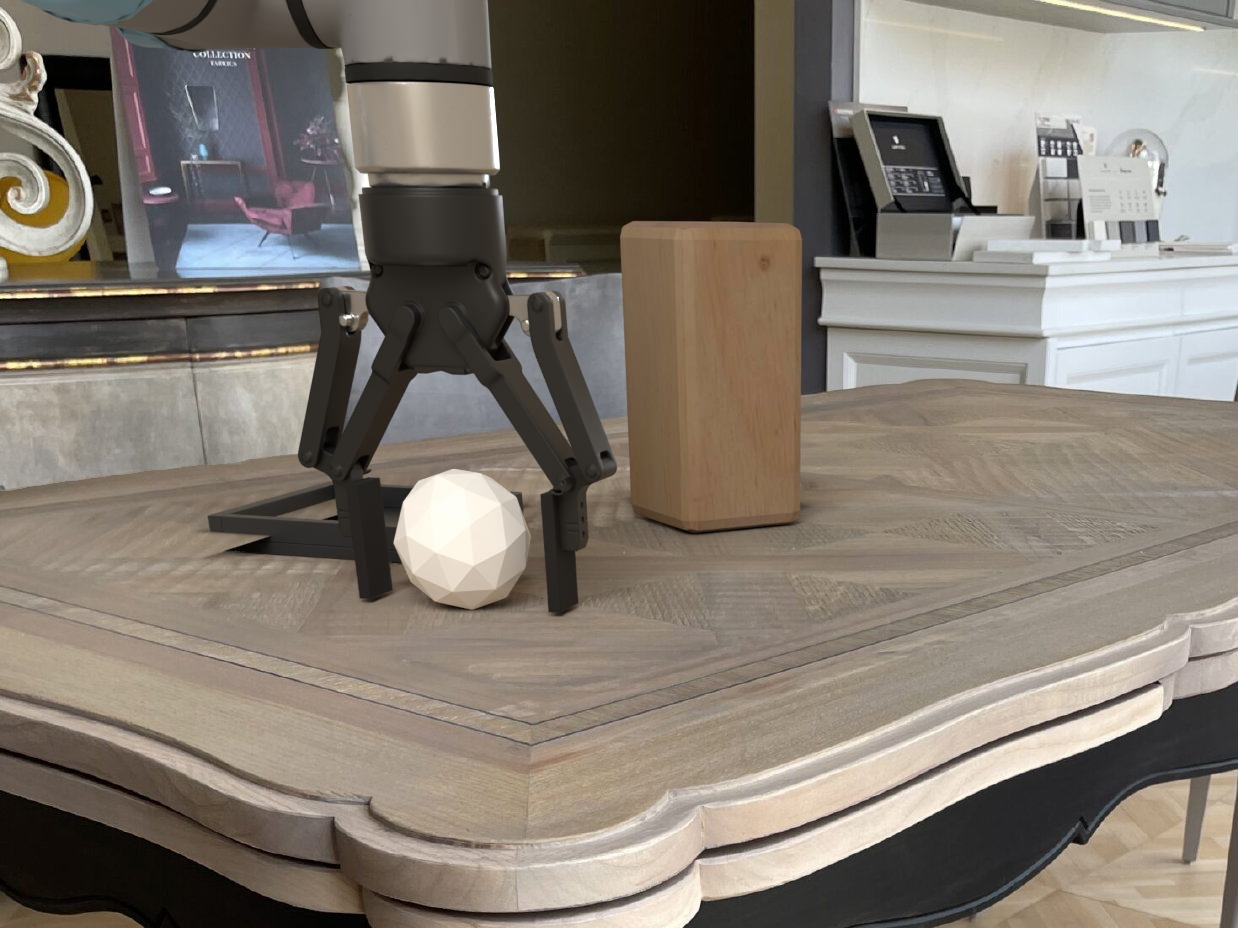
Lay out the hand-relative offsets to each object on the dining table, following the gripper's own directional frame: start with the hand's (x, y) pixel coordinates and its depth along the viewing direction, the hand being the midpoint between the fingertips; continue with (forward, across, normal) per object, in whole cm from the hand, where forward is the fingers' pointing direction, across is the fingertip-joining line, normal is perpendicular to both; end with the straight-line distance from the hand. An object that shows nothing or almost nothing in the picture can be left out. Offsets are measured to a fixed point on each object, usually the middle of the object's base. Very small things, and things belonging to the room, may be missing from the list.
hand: (468, 601), depth 95 cm
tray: (0, +16, -18) cm, 24 cm away
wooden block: (0, -5, -32) cm, 32 cm away
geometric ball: (0, 0, 0) cm, 0 cm away
